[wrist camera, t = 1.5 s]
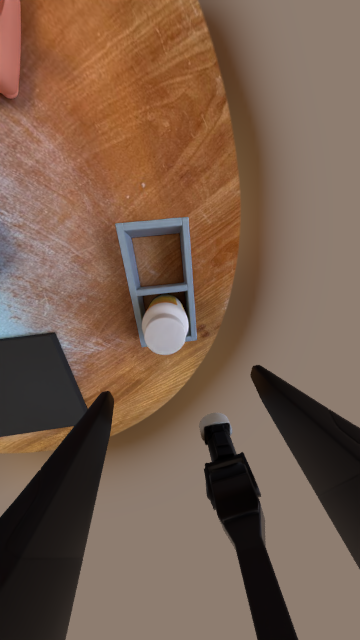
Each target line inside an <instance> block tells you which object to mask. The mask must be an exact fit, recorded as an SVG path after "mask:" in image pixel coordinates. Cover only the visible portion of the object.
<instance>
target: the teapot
mask: <svg viewBox="0 0 360 640" xmlns="http://www.w3.org/2000/svg"><path fill="white" fill-rule="evenodd" d="M20 56H21V3H20V0H0V93H2V94H3V95H4V96H5V97H7V98H10V99H13V98H15V97H17V95H18V92H19V87H18V86H19V76H20Z"/></svg>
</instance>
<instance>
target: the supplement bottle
mask: <svg viewBox="0 0 360 640" xmlns="http://www.w3.org/2000/svg"><path fill="white" fill-rule="evenodd" d="M188 328H189V322H188V318H187V315H186V313H185V311H184V308H183V306H182V304H181V302H180V301H179V300H178V299H177V298H176V297H174V296H172V295H168V294H163V295H159V296H157V297H156V298H154V299H153V300H152V302H151V303H150V305H149V307H148V309H147V311H146V313H145V315H144V317H143V320H142V331H143V334H144V340H145V343H146V345H147V346H148V348H149V349H150V350H151V351H153V352H155V353H157V354H161V355H169V354H173V353H175V352H177V351H178V350H179V349H180V348H181V347H182V346H183V344H184V342H185V338H186V335H187V332H188Z"/></svg>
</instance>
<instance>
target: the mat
mask: <svg viewBox="0 0 360 640" xmlns="http://www.w3.org/2000/svg"><path fill="white" fill-rule="evenodd" d="M87 410H88V409H87V407H86V404H85V402H84V400H83V397H82V395H81V393H80V390H79V388H78V386H77V383H76V381H75V379H74V376H73V374H72V372H71V369H70V367H69V365H68V362H67V360H66V357H65V355H64V353H63V350H62V348H61V346H60V343H59V341H58V339H57V336H56V334H55V333H47V334H39V335H31V336H23V337H15V338H6V339H0V437H3V436H10V435H16V434H23V433H30V432H36V431H43V430H50V429H57V428H63V427H70V426H75V425H76V424H77V422H78V421H79V420H80V419H81V417H82V416H83V415H84V414H85V412H86V411H87Z"/></svg>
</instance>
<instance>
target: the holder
mask: <svg viewBox="0 0 360 640" xmlns="http://www.w3.org/2000/svg"><path fill="white" fill-rule="evenodd" d="M115 226H116V231H117V235H118V240H119V244H120V249H121V254H122V258H123V263H124V268H125V272H126V277H127V282H128V286H129V291H130V295H131V300H132V305H133V309H134V314H135V319H136V323H137V328H138V332H139V337H140V342H141V346H142V347H147V345H146V343H145V340H144V334H143V331H142V320H143V317H144V315H145V307H144V302H143V297H142V296H145V295H154V294H163V293H171V292H180V291H185V298H186V309H187V318H188V322H189V328H188V332H187V335H186V338H185V342H186V341H194V340H197V333H196V319H195V305H194V290H193V276H192V262H191V247H190V233H189V219H188V217H182V218H171V219H160V220H149V221H138V222H127V223H116V224H115ZM176 233H180V242H181V253H182V264H183V275H184V283H175V284H166V285H157V286H148V287H141V286H140V281H139V276H138V270H137V265H136V260H135V254H134V249H133V244H132V239H131V238H135V237H146V236H156V235H166V234H176Z"/></svg>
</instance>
